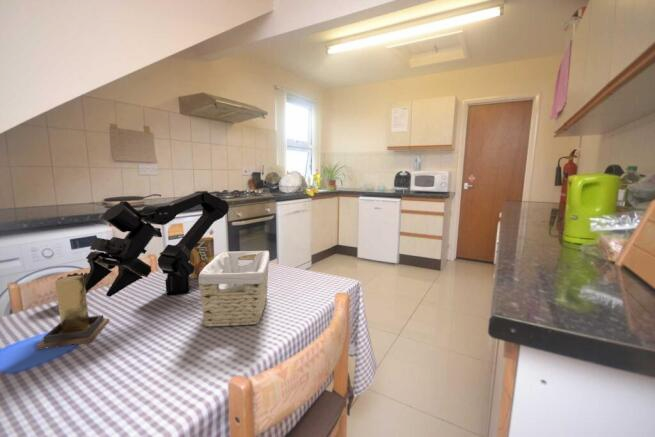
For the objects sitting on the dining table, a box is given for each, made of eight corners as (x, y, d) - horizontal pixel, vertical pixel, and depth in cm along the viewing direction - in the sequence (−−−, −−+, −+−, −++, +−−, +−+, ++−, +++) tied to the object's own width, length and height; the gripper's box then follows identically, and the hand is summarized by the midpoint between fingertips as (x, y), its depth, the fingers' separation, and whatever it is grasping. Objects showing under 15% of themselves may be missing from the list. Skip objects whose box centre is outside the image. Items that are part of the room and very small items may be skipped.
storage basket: (222, 293, 94) (220, 250, 92) (271, 291, 96) (270, 249, 94) (197, 331, 71) (195, 274, 69) (263, 328, 72) (263, 273, 70)
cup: (73, 308, 82) (70, 281, 80) (53, 305, 83) (50, 279, 82) (99, 297, 89) (96, 273, 88) (80, 295, 90) (77, 271, 89)
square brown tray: (109, 321, 74) (108, 313, 74) (92, 341, 65) (91, 332, 65) (62, 327, 71) (61, 318, 71) (36, 349, 62) (35, 339, 62)
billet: (95, 325, 70) (89, 275, 69) (77, 336, 66) (70, 283, 64) (75, 325, 71) (69, 275, 69) (56, 336, 66) (48, 282, 64)
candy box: (214, 272, 114) (212, 235, 112) (215, 276, 110) (213, 237, 108) (190, 275, 110) (188, 237, 108) (190, 279, 106) (188, 239, 104)
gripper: (90, 222, 77) (43, 273, 69) (136, 227, 70) (90, 285, 62) (123, 244, 86) (85, 292, 77) (166, 250, 79) (130, 304, 70)
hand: (96, 293), depth 72 cm, fingers open, 9 cm apart
